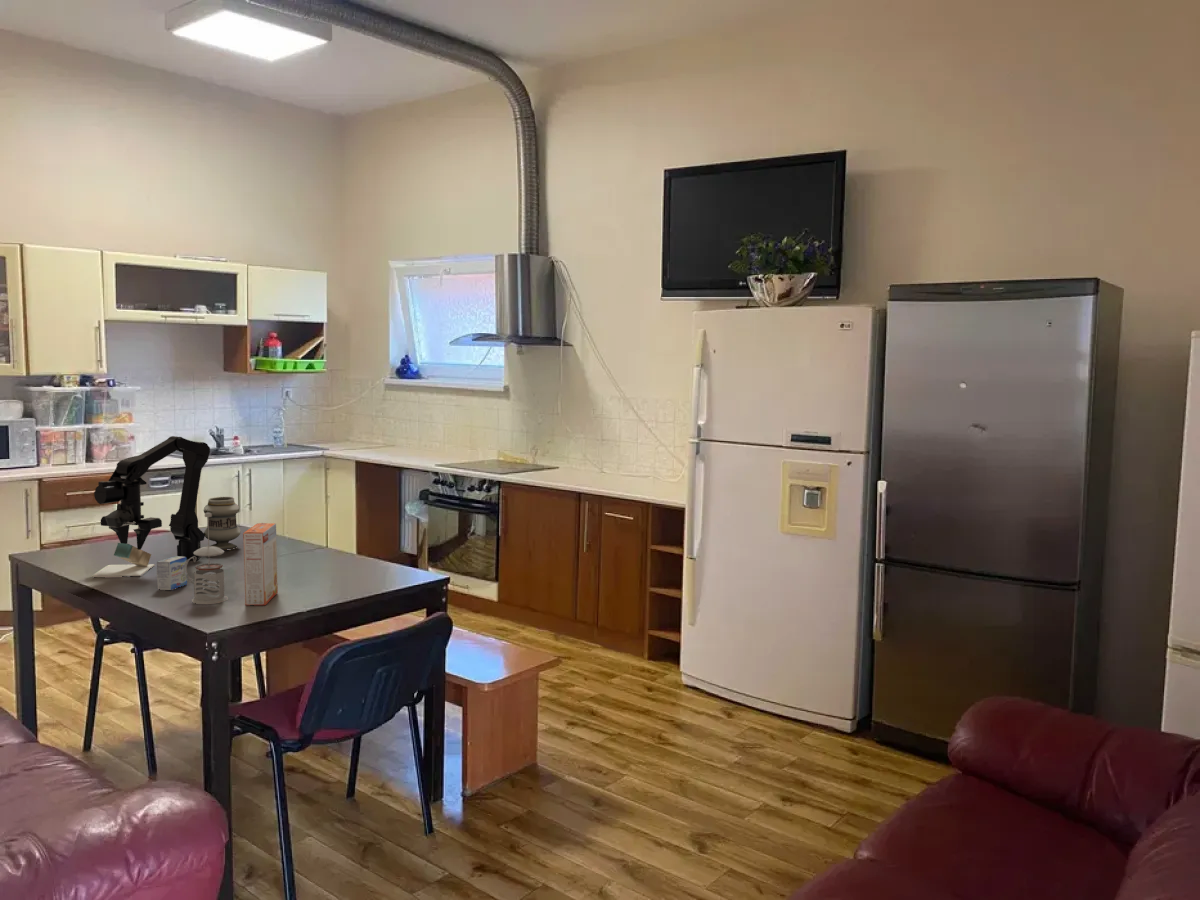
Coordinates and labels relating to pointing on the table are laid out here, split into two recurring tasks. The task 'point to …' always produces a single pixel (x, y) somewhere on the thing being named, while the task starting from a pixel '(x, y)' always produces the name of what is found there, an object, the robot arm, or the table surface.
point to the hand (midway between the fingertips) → (131, 548)
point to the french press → (208, 576)
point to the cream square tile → (122, 570)
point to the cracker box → (260, 563)
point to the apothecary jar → (222, 522)
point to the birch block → (132, 554)
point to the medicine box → (171, 573)
